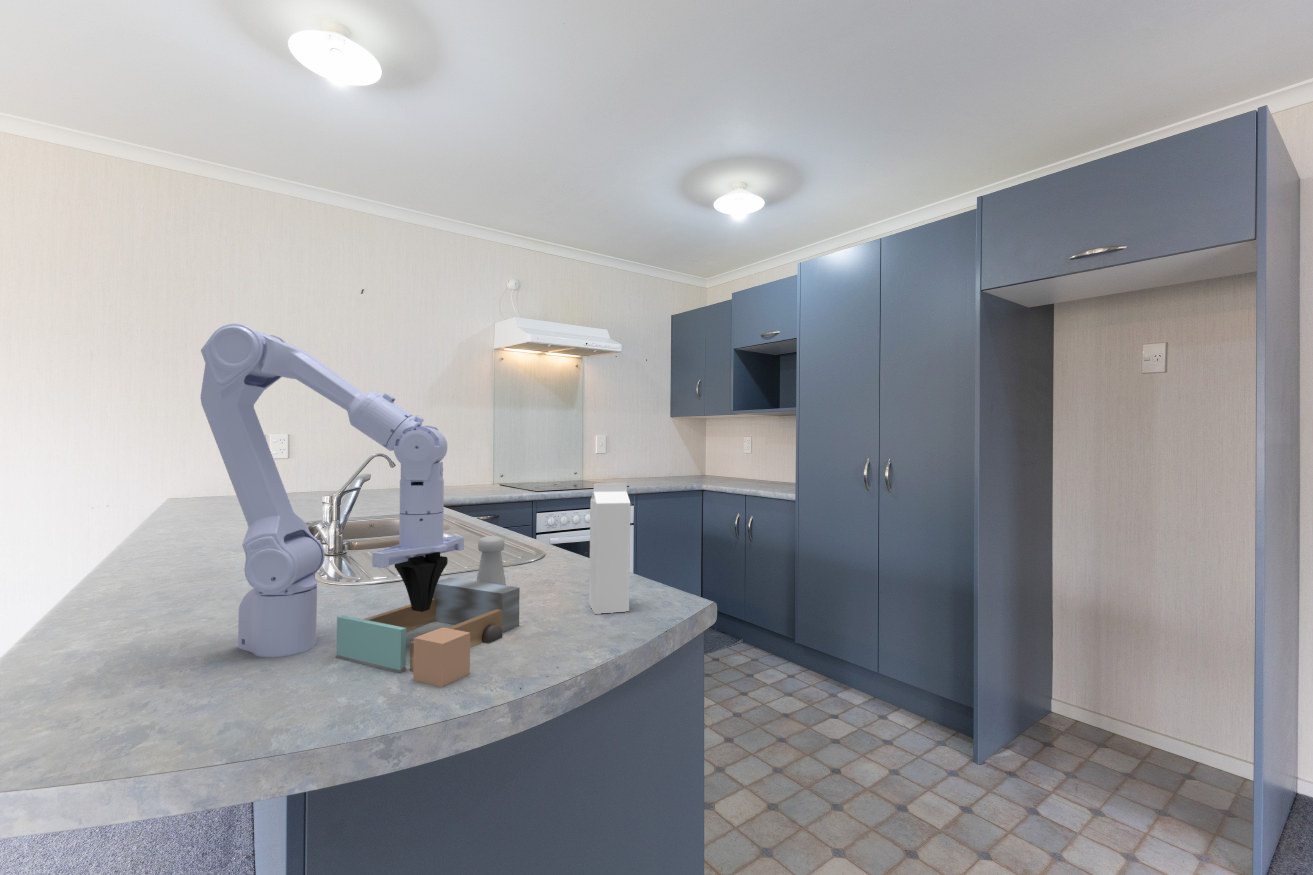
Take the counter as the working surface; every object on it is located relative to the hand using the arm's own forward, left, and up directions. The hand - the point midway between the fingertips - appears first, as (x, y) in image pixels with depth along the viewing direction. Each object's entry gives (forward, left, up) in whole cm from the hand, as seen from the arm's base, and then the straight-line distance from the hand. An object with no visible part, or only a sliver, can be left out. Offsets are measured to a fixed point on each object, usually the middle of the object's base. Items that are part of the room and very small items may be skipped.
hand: (421, 609), depth 83 cm
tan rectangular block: (+11, -8, -6) cm, 15 cm away
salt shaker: (-3, +17, -6) cm, 19 cm away
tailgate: (0, -9, -5) cm, 10 cm away
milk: (+13, +29, -6) cm, 33 cm away
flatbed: (0, +2, -5) cm, 6 cm away
